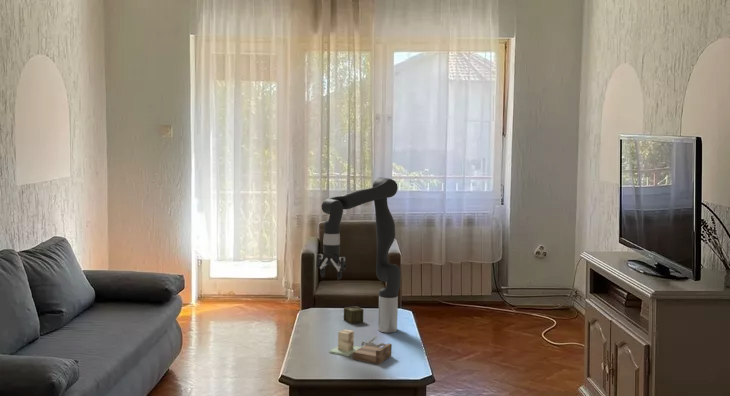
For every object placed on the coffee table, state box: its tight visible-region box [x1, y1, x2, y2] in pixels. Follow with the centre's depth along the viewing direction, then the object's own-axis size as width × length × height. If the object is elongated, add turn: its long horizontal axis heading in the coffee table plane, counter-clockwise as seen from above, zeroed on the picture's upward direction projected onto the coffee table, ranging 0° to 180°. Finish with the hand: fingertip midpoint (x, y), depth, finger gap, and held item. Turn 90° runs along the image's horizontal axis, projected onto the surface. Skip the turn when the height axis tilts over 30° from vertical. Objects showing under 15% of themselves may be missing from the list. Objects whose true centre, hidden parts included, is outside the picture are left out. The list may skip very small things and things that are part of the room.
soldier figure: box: [361, 336, 388, 348], centre depth 324 cm, size 8×5×12 cm
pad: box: [328, 345, 362, 357], centre depth 322 cm, size 12×10×1 cm
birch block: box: [337, 328, 355, 352], centre depth 321 cm, size 5×5×8 cm
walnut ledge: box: [352, 343, 393, 365], centre depth 313 cm, size 12×12×6 cm
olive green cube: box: [343, 305, 364, 325], centre depth 370 cm, size 7×7×7 cm
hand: (330, 278), depth 331 cm, fingers open, 8 cm apart
